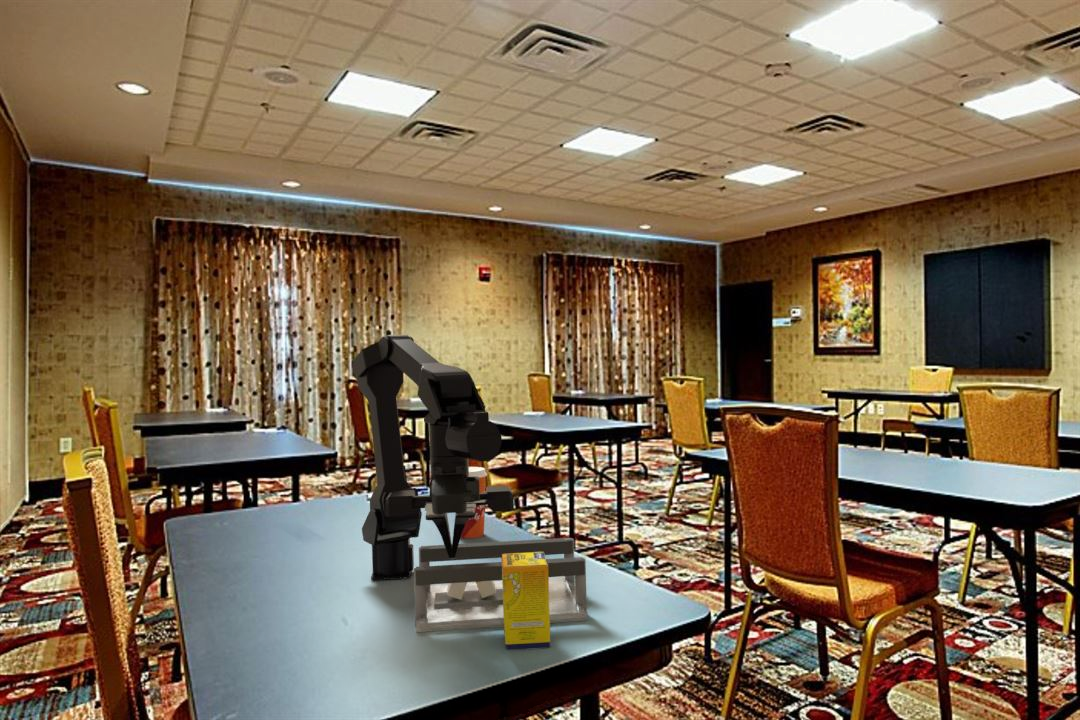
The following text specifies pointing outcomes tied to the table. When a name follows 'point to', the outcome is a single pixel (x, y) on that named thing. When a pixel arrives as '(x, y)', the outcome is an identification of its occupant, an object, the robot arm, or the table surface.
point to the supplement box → (525, 601)
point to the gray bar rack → (494, 565)
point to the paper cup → (476, 524)
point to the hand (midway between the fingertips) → (452, 557)
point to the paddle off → (486, 588)
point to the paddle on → (456, 590)
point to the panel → (491, 607)
